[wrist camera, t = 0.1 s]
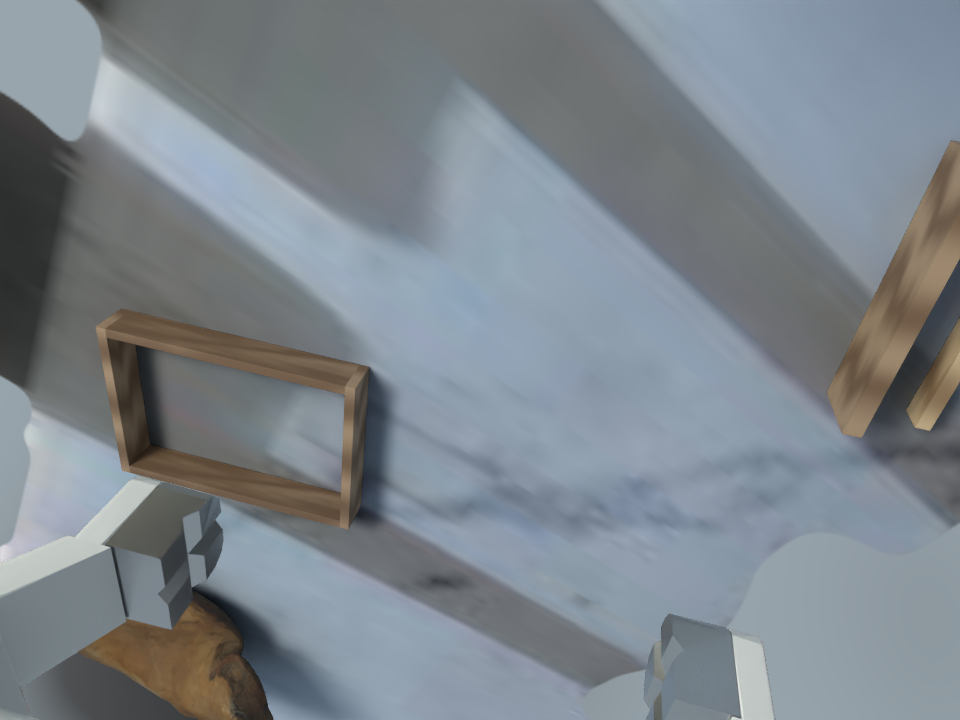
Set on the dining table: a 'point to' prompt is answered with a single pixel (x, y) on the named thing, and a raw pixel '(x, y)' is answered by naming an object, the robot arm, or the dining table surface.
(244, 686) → the brown rough lump
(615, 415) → the dining table surface
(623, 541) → the dining table surface
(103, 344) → the rectangular wooden frame
